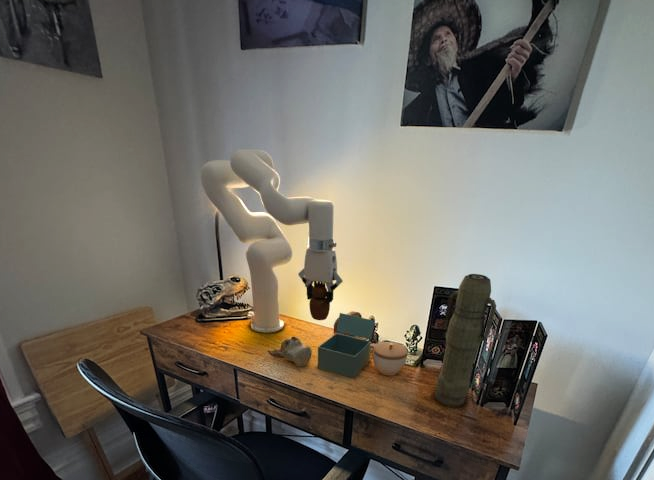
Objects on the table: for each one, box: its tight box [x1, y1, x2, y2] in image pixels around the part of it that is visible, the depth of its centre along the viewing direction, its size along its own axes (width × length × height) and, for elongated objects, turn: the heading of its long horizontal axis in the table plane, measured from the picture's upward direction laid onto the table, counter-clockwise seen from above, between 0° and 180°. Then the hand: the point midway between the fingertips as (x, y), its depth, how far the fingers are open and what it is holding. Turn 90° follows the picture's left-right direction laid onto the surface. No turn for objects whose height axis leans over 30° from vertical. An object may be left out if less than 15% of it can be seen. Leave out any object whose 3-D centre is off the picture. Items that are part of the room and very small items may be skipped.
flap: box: [337, 312, 376, 341], centre depth 123 cm, size 12×6×1 cm
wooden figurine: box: [308, 281, 331, 321], centre depth 126 cm, size 7×6×15 cm
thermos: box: [434, 273, 497, 407], centre depth 100 cm, size 9×12×35 cm
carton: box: [317, 333, 372, 379], centre depth 121 cm, size 13×13×7 cm
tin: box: [333, 311, 363, 337], centre depth 141 cm, size 15×3×8 cm, turn 143°
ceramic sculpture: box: [267, 336, 312, 367], centre depth 122 cm, size 11×9×15 cm
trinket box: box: [372, 341, 409, 376], centre depth 119 cm, size 11×11×9 cm
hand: (319, 300), depth 126 cm, fingers closed on wooden figurine, 6 cm apart
